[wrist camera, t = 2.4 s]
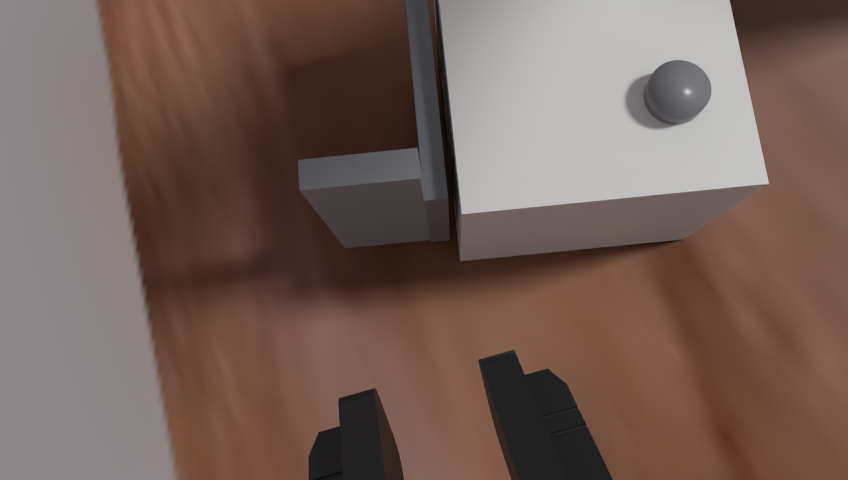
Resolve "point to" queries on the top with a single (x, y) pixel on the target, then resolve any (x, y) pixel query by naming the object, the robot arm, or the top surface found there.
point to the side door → (389, 169)
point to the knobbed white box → (592, 121)
